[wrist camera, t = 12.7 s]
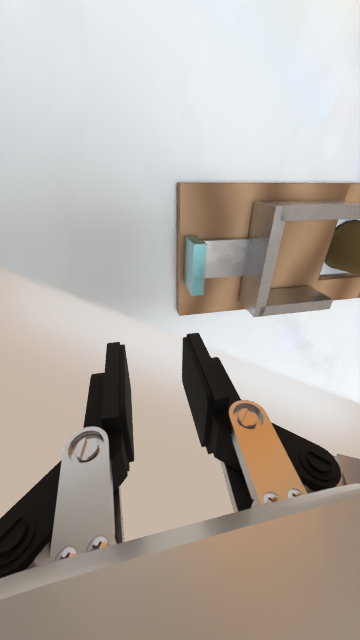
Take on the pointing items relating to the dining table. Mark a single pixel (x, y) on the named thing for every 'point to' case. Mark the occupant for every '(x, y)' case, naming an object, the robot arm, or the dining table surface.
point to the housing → (261, 257)
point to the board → (234, 222)
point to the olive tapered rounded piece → (345, 248)
